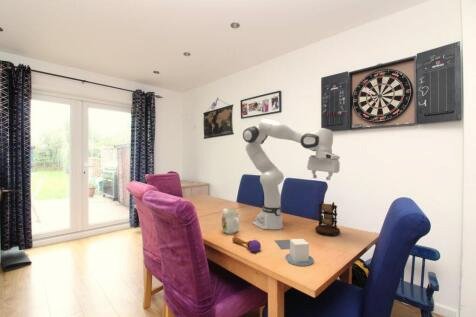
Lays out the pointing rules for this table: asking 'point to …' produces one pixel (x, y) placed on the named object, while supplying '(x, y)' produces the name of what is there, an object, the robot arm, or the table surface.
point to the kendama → (249, 244)
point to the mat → (283, 244)
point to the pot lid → (305, 263)
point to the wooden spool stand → (327, 219)
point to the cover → (299, 250)
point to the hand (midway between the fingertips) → (321, 179)
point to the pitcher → (230, 221)
